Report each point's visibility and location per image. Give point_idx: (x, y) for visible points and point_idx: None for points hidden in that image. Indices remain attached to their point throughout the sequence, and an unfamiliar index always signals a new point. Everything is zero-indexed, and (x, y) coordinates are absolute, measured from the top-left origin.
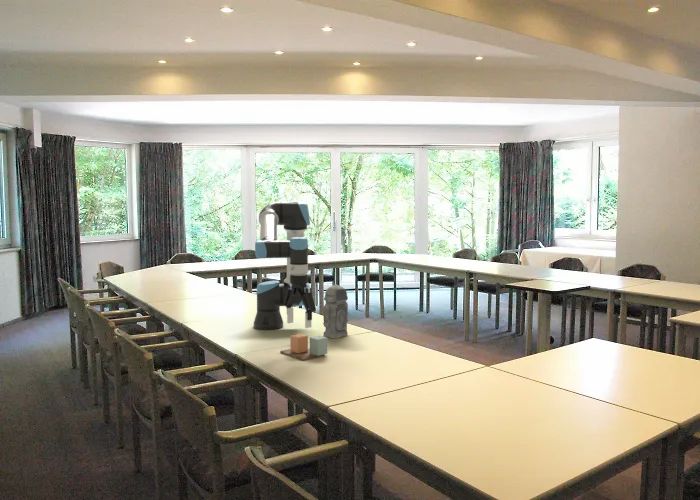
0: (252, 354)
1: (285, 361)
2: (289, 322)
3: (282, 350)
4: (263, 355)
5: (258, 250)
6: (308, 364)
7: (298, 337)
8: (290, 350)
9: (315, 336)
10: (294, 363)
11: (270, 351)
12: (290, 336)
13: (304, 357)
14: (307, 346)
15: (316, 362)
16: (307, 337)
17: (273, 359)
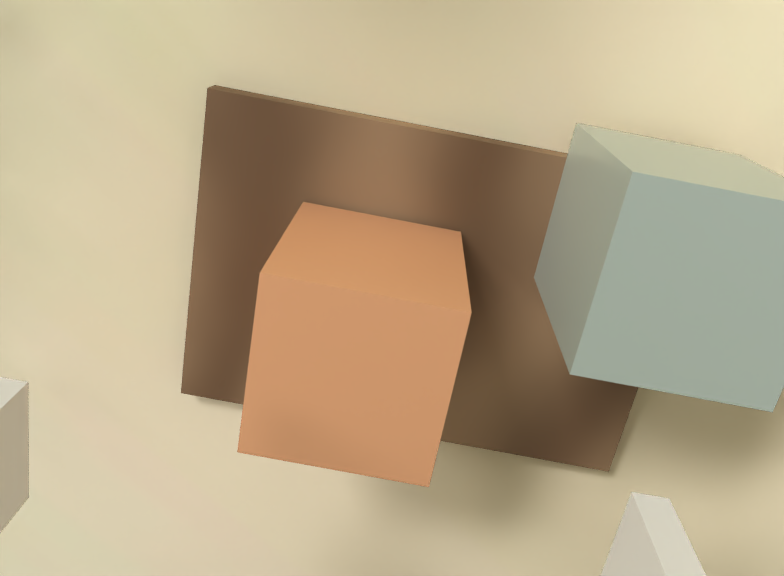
0: (34, 562)
1: (463, 561)
2: (20, 479)
3: (183, 365)
4: (139, 533)
5: None
6: (723, 519)
7: (421, 470)
8: (254, 314)
9: (615, 271)
10: (581, 562)
11: (63, 399)
12: (240, 443)
13: (586, 433)
14: (463, 258)
15: (761, 431)
16: (469, 308)
17: (322, 573)
